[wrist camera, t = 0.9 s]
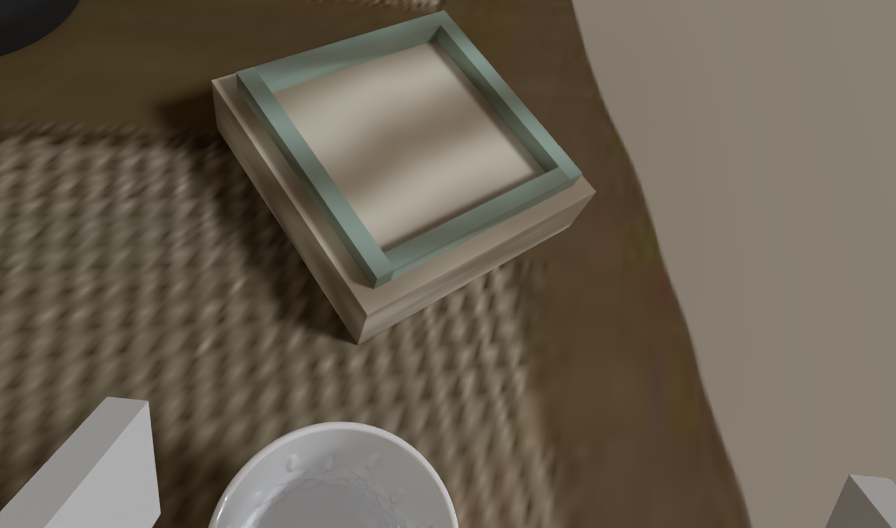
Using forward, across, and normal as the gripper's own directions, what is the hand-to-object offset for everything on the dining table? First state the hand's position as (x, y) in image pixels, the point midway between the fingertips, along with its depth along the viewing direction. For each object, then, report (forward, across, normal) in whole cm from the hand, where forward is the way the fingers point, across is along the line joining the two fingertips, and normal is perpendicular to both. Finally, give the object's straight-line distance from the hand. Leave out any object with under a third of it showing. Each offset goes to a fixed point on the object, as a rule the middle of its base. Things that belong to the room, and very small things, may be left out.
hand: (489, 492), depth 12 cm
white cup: (+11, -6, -15) cm, 20 cm away
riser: (+28, -5, -2) cm, 29 cm away
